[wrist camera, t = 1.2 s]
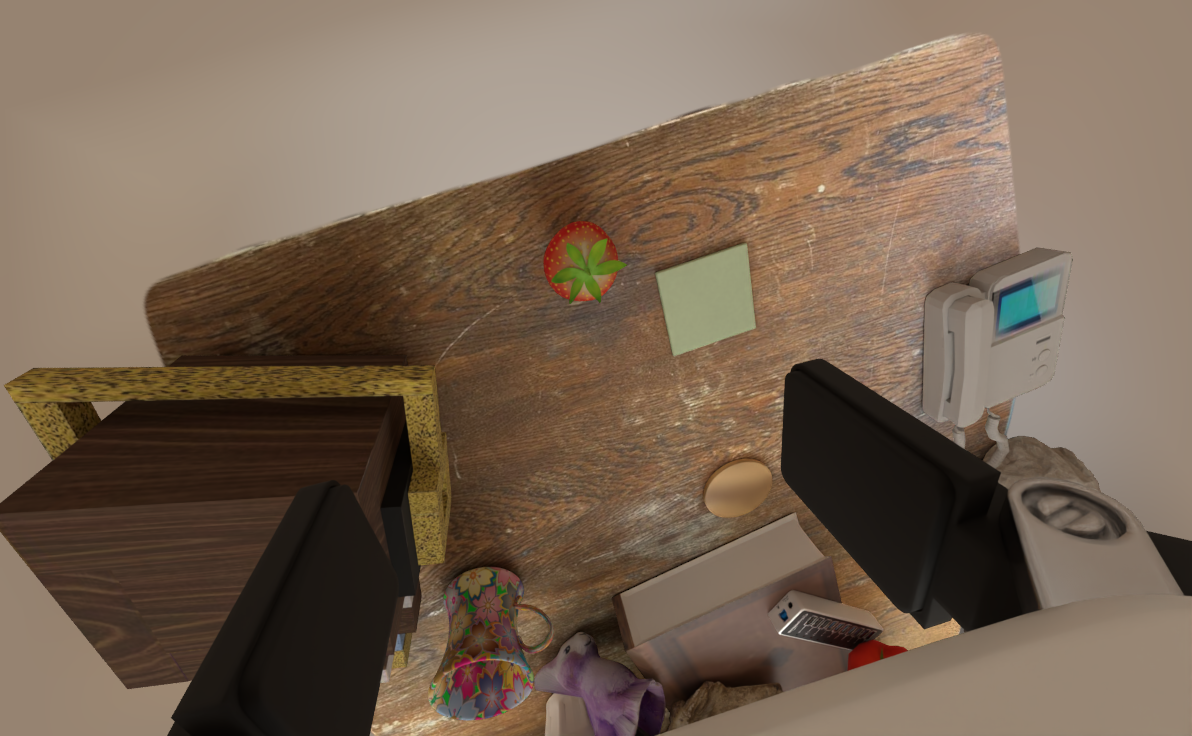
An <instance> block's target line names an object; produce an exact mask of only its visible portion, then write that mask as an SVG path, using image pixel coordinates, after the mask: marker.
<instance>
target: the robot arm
mask: <svg viewBox="0 0 1192 736" xmlns="http://www.w3.org/2000/svg"><path fill="white" fill-rule="evenodd" d="M781 472H782V475H783V478H784V480H785V481H786V483H787V484H788V485H789V486H790V488H791V489H792V490H793V491H794V492H795V493H796V494H797V495H798V497H799V498H800V499H801V500H802V501H803V502H804V503H805V505H806V506H807V507H808V508H809V509H810V510H811V511H812V512H813V514H814V515H815V516H816V517H817V518H818V519H819V520H820V522H821V523H822V524H823V525H824V526H825V527H826V528H827V529H828V531H829V532H830V533H831V534H832V535H833V536H834V537H835V539H836V540H837V541H838V542H839V543H840V544H841V545H842V546H843V548H844V549H845V550H846V551H847V552H848V553H849V554H850V555H851V557H852V558H853V559H854V560H855V561H856V562H857V563H858V565H859V566H860V567H861V568H862V569H863V570H864V571H865V572H866V574H867V575H868V576H869V577H870V578H871V579H872V580H873V582H874V583H875V584H876V585H877V586H878V587H879V588H880V589H881V591H882V592H883V593H884V594H885V595H886V596H887V597H888V599H889V600H890V601H891V602H892V603H893V604H894V605H895V606H896V607H897V608H898V609H899V610H900V611H902V612H904V613H910V614H911V615H912V616H913V617H914V619H915V620H916V621H917V622H918V623H919V624H920V625H921V626H922V627H923V629H927V628H930V627H933V626H936V625H939V624H942V623H945V622H948V621H951V619H952V618H953V619H954V620H955V621H956V622H957V623H958V624H959V625H960V626H961V627H962V628H963V629H964V633H962V634H959V635H956V636H953V637H949V638H946V639H943V640H940V641H936V642H933V643H930V644H927V645H924V646H921V647H918V648H915V649H912V650H909V651H906V652H903V653H900V654H897V655H894V656H891V657H888V658H885V659H882V660H879V661H876V662H873V663H870V664H867V665H864V666H861V667H858V668H855V669H852V670H849V671H846V672H843V673H840V674H837V675H834V676H831V677H828V678H825V679H822V680H819V681H816V682H813V683H810V684H807V685H804V686H801V687H798V688H795V689H792V690H789V691H786V692H783V693H780V694H777V695H774V696H771V697H768V698H765V699H762V700H759V701H756V702H753V703H750V704H747V705H744V706H741V707H738V708H735V709H733V710H730V711H727V712H724V713H721V714H718V715H715V716H712V717H709V718H706V719H703V720H700V721H697V722H694V723H691V724H688V725H685V726H682V727H679V728H676V729H673V730H670V731H667V732H665V733H662V734H659V735H656V736H1192V541H1188V540H1184V539H1180V538H1176V537H1171V536H1167V535H1162V534H1157V533H1153V532H1148V531H1146V530H1145V529H1144V527H1143V525H1142V524H1141V522H1140V521H1139V520H1138V519H1137V517H1136V516H1135V515H1134V514H1133V513H1132V512H1131V511H1130V510H1129V509H1128V508H1126V507H1125V506H1124V505H1122V504H1121V503H1119V502H1118V501H1117V500H1115V499H1113V498H1111V497H1109V496H1108V495H1105V494H1104V493H1102V492H1100V491H1098V490H1095V489H1093V488H1090V487H1087V486H1084V485H1082V484H1079V483H1076V482H1071V481H1067V480H1063V479H1058V478H1048V477H1031V478H1024V479H1021V480H1019V481H1016V482H1014V483H1013V484H1012V486H1011V487H1010V488H1009V489H1007V488H1006V487H1004V486H1003V485H1001V484H1000V483H998V480H999V477H1000V475H1001V472H1000V471H998V470H997V469H995V468H994V467H992V466H990V465H989V464H987V463H986V462H984V461H983V460H981V459H979V458H978V457H976V456H975V455H973V454H972V453H970V452H968V451H967V450H965V449H964V448H962V447H961V446H959V445H957V444H956V443H954V442H953V441H951V440H950V439H948V438H946V437H945V436H943V435H942V434H940V433H939V432H937V431H935V430H934V429H932V428H931V427H929V426H928V425H926V424H924V423H923V422H921V421H920V420H918V419H917V418H915V417H913V416H912V415H910V414H909V413H907V412H906V411H904V410H902V409H901V408H899V407H898V406H896V405H895V404H893V403H891V402H890V401H888V400H887V399H885V398H884V397H882V396H880V395H879V394H877V393H876V392H874V391H873V390H871V389H869V388H868V387H866V386H865V385H863V384H862V383H860V382H858V381H857V380H855V379H854V378H852V377H851V376H849V375H847V374H846V373H844V372H843V371H841V370H839V369H838V368H836V367H835V366H833V365H832V364H830V363H828V362H827V361H825V360H823V359H815V360H811V361H807V362H803V363H799V364H795V365H794V366H793V367H792V369H791V372H790V373H788V374H787V375H786V377H785V389H784V410H783V432H782V453H781ZM398 594H399V581H398V576H397V574H396V572H395V570H394V568H393V566H392V564H391V562H390V561H389V559H388V557H387V555H386V553H385V551H384V549H383V548H382V546H381V544H380V542H379V540H378V538H377V536H376V534H375V533H374V531H373V529H372V527H371V525H370V523H369V521H368V520H367V518H366V516H365V514H364V512H363V510H362V508H361V507H360V505H359V503H358V501H357V499H356V497H355V495H354V493H353V492H352V490H351V488H350V487H349V486H348V485H345V484H344V485H340V484H339V483H338V482H337V481H336V480H330V481H326V482H322V483H318V484H314V485H310V486H306V487H303V488H301V489H300V490H299V491H298V492H297V494H296V495H295V497H294V499H293V501H292V503H291V504H290V506H289V508H288V510H287V511H286V513H285V515H284V517H283V519H282V520H281V522H280V524H279V526H278V528H277V529H276V531H275V533H274V535H273V537H272V538H271V540H270V542H269V544H268V545H267V547H266V549H265V551H264V553H263V554H262V556H261V558H260V560H259V562H258V563H257V565H256V567H255V569H254V571H253V572H252V574H251V576H250V578H249V579H248V581H247V583H246V585H245V587H244V588H243V590H242V592H241V594H240V596H239V597H238V599H237V601H236V603H235V604H234V606H233V608H232V610H231V612H230V613H229V615H228V617H227V619H226V621H225V622H224V624H223V626H222V628H221V630H220V631H219V633H218V635H217V637H216V638H215V640H214V642H213V644H212V646H211V647H210V649H209V651H208V653H207V655H206V656H205V658H204V660H203V662H202V664H201V665H200V667H199V669H198V671H197V672H196V674H195V676H194V678H193V680H192V682H191V683H190V685H189V687H188V689H187V690H186V692H185V694H184V696H183V698H182V699H181V701H180V703H179V705H178V706H177V709H176V710H175V712H174V714H173V715H172V717H171V718H172V719H173V720H174V721H175V722H174V724H173V726H172V728H171V730H170V731H169V733H168V735H167V736H369V735H370V731H371V726H372V721H373V716H374V711H375V706H376V701H377V697H378V692H379V687H380V682H381V677H382V672H383V667H384V662H385V658H386V653H387V648H388V643H389V638H390V633H391V628H392V623H393V619H394V614H395V609H396V604H397V599H398Z"/></svg>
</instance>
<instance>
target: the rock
mask: <svg viewBox="0 0 1192 736" xmlns="http://www.w3.org/2000/svg"><path fill="white" fill-rule="evenodd" d="M780 693H783V690H782V687H781V685H780V683H778V682H777V683H768V684H762V685H755V686H740V687H733V688H731V687H727V688H726V687H725V686H724V685H723V684H722V683H721V682H719V681H717V682H715V683H713V682H711V681H705V682H704V683H703V684H702V685H701V686H700V688H699V689H698V690H696V692H695V693H694V694H693V695H692V696H690V697H689V699H688V700H687V701H686V702H685V701H683V700H680V701H678V702H675V703H674V704H673V706H672V708H671V711H670V717H669V719H670V726H669V728H668V730H667V731H670V730H673V729H676V728H679V727H682V726H685V725H688V724H691V723H694V722H697V721H700V720H703V719H706V718H709V717H712V716H715V715H718V714H721V713H724V712H727V711H730V710H733V709H735V708H738V707H741V706H744V705H747V704H750V703H753V702H756V701H759V700H762V699H765V698H768V697H771V696H774V695H777V694H780Z"/></svg>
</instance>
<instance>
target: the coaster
mask: <svg viewBox="0 0 1192 736" xmlns="http://www.w3.org/2000/svg"><path fill="white" fill-rule="evenodd" d="M771 487H772V474H771V472H770V470H769V469H768V468H767V467H766V465H765V464H763V463H762V462H760V461H758V460H755V459H739V460H735V461H732V462H729V463H727V464H725V465H724V466H722V467H720V468H719V469H718V470H717V471H715V472H714V473H713V474H712V476H711V477H710V478H709V480H708V481H707V483H706V485H705V488H704V492H703V499H704V503H705V505H706V506H707V508H708V510H709V511H710V512H711V513H713V514H714V515H716V516H719V517H724V518H732V517H738V516H741V515H744V514H747V513H749V512H751V511H752V510H754V509H755V508H757V507H758V506H759V505H760V504H761V503H762V502H763V501H764V500H765V499H766V497H767V496H768V494H769V492H770V490H771Z"/></svg>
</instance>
